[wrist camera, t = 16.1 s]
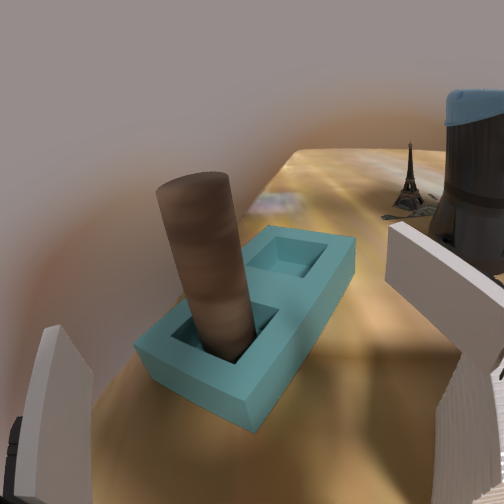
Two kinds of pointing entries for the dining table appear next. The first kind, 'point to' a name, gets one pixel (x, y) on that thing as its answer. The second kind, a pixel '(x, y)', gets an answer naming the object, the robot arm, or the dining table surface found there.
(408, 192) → the eiffel tower figurine
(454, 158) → the robot arm
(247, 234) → the dining table surface
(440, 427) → the stack of papers
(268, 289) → the bore block
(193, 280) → the walnut pin
